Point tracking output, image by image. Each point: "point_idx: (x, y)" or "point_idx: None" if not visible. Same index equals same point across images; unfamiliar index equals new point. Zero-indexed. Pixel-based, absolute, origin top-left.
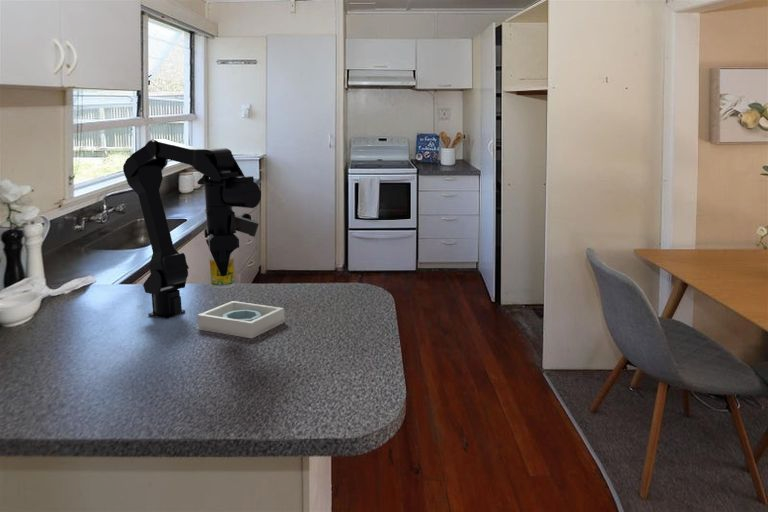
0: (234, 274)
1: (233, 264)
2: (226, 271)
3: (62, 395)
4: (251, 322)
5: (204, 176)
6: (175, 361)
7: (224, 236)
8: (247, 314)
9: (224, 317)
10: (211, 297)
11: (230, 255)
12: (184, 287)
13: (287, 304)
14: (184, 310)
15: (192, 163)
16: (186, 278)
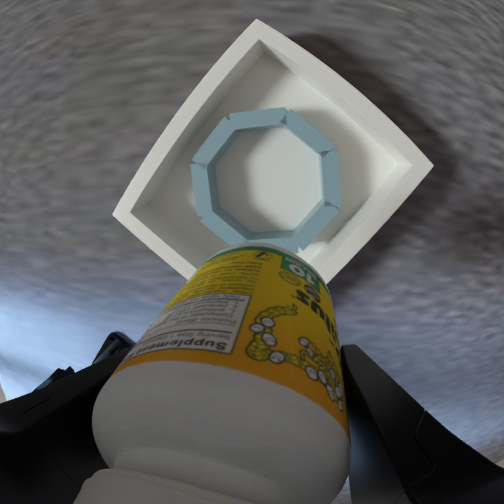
0: (258, 268)
1: (262, 322)
2: (373, 363)
3: (489, 446)
4: (425, 163)
5: None
6: (478, 352)
7: None
8: (216, 158)
9: (331, 257)
10: (15, 259)
11: (287, 441)
12: (70, 366)
13: (81, 49)
14: (111, 336)
15: None
16: (57, 380)
